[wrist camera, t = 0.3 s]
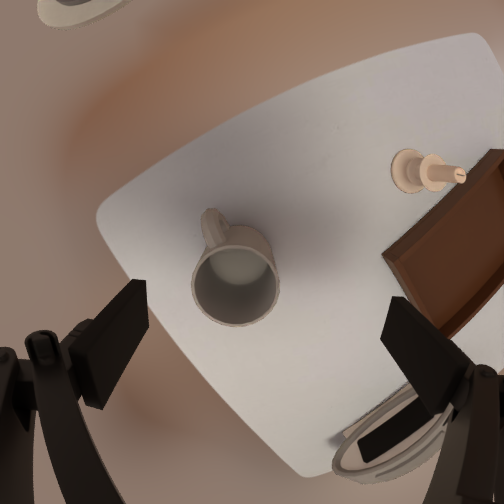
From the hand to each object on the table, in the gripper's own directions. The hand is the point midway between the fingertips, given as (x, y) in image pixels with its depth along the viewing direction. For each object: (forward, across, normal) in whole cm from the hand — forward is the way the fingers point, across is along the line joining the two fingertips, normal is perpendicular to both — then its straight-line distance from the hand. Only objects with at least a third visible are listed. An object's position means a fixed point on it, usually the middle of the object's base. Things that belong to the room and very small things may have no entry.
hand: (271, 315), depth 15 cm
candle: (+18, +17, +9) cm, 26 cm away
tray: (+18, +29, +2) cm, 34 cm away
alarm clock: (+18, +24, -27) cm, 40 cm away
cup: (+18, -3, -1) cm, 18 cm away
